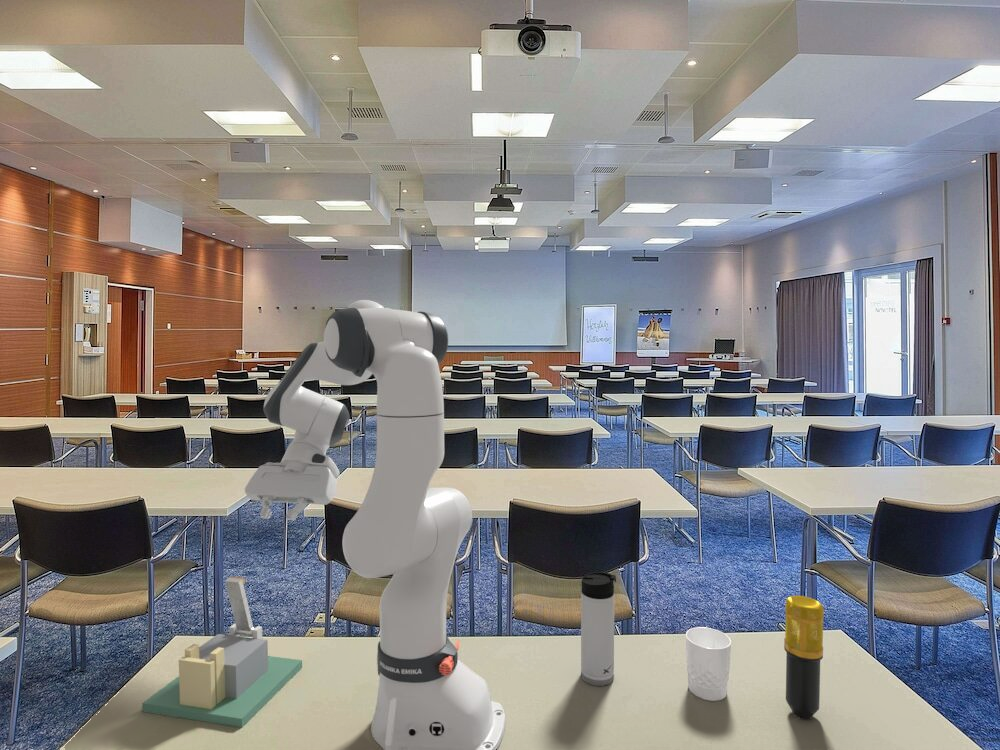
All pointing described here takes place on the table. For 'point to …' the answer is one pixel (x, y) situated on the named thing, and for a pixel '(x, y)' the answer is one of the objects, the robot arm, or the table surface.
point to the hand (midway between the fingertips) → (277, 518)
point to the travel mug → (597, 628)
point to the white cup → (708, 662)
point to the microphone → (803, 654)
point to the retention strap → (239, 606)
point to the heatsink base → (224, 680)
